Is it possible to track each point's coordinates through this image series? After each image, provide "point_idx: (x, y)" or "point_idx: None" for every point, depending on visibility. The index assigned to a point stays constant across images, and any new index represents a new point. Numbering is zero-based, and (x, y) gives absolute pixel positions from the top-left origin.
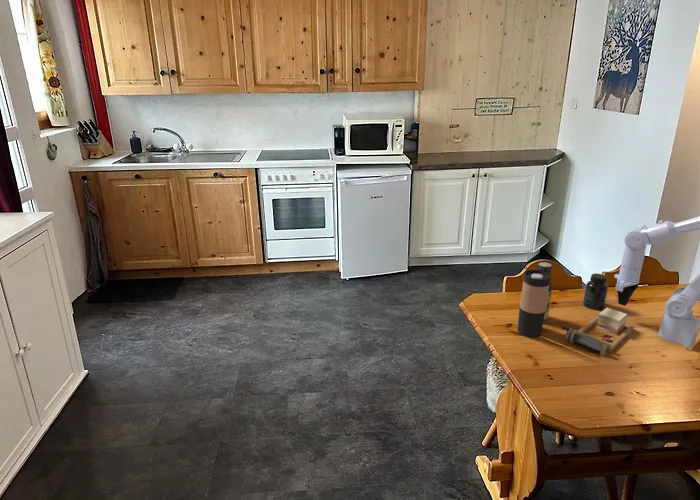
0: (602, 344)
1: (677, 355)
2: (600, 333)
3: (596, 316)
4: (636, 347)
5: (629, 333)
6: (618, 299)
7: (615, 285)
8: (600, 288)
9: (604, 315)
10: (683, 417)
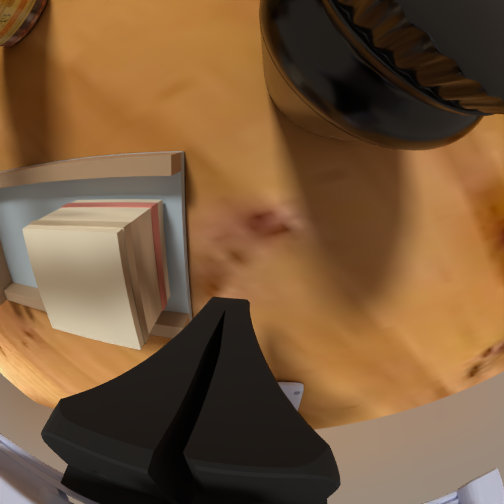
0: None
1: None
2: None
3: (131, 162)
4: None
5: None
6: (196, 317)
7: (53, 412)
8: (299, 70)
9: (29, 257)
10: (23, 391)
